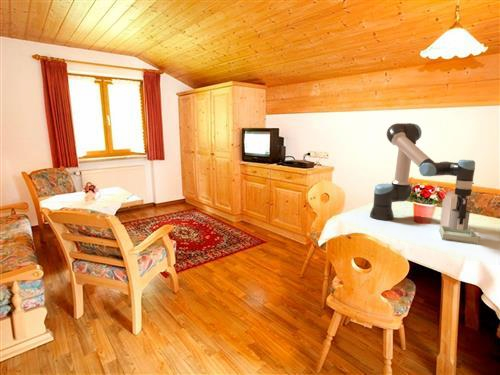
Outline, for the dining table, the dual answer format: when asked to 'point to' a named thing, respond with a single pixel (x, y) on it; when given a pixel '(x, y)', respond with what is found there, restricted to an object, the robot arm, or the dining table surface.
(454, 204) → the milk
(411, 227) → the dining table surface
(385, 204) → the robot arm
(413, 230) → the dining table surface
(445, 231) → the bin
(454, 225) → the cup
